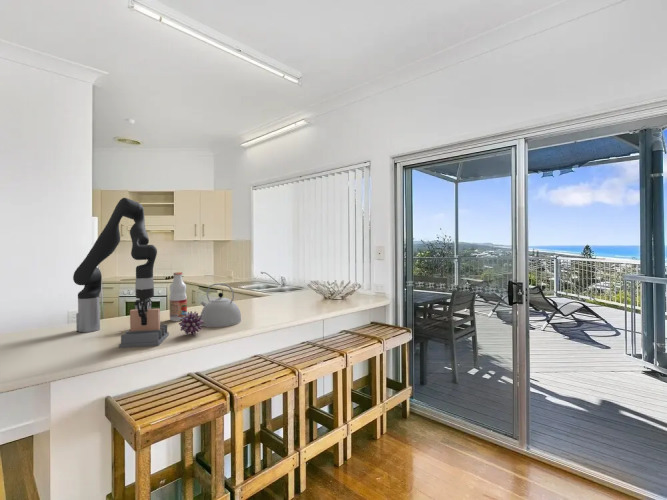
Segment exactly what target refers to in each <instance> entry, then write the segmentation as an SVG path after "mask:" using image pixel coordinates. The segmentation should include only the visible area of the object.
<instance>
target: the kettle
mask: <svg viewBox="0 0 667 500" xmlns="http://www.w3.org/2000/svg"><path fill="white" fill-rule="evenodd" d="M214 286H225V287H227V288H229V290H231V293H232V294H231V295H232V298H231V299H229V298H227V297H223V296H224V294H223V292H219V293H218V297H217V298H213V299H210V297H209V296H210V295H209V290H210V289H211V288H212V287H214ZM206 297H207V300H208V302H206V301H205V300H203V301H200V304H201V305H202V306H203V308H202V310H201V312H200V315H202V316H201V317H202V318H201V319H200V320H202V321H204V323H202V324H201V326H202V327H208V328H224V327H231V326H234V325H237V324H240V323H242V312H241V309H240V308H239V305H237V304H236V303H235V302H234V299H235V292H234V290H233V288H232V287H231V286H230V285H228V284H227V283H220V282H219V283H217V282H216V283H212V284H211V285H209V286H208V287H207V290H206ZM230 325H231V326H230Z"/></svg>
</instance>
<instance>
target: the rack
mask: <svg viewBox="0 0 667 500" xmlns="http://www.w3.org/2000/svg"><path fill="white" fill-rule="evenodd" d="M124 333H125V334H123V333H122V334H120V343H119V344H118V345H119V346H118V348H119V349H121V348H136V347H137V348H138V347H139V348H140V347H156V346H160V345H161V344H162V343H163V342H164V341H165V340H166V338H168V337H169V336H170V335H169V334H170V333H169V331H168V324H160V330H147V331H130V330H129V331H125V332H124Z"/></svg>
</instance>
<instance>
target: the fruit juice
mask: <svg viewBox="0 0 667 500" xmlns="http://www.w3.org/2000/svg"><path fill="white" fill-rule="evenodd" d="M172 275H173V279H172V282H171V284H170V285H169V292H170V294H169V320H170V321H172V322H182V321H181V320H180V319H182V318H181V316H185V315H184V314H185V313H186V314H188V298H187V296H188V295H187V292H186V291H187V284H186V283H185V282H184V280H183V272H180V271H179V272H173V274H172Z"/></svg>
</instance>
